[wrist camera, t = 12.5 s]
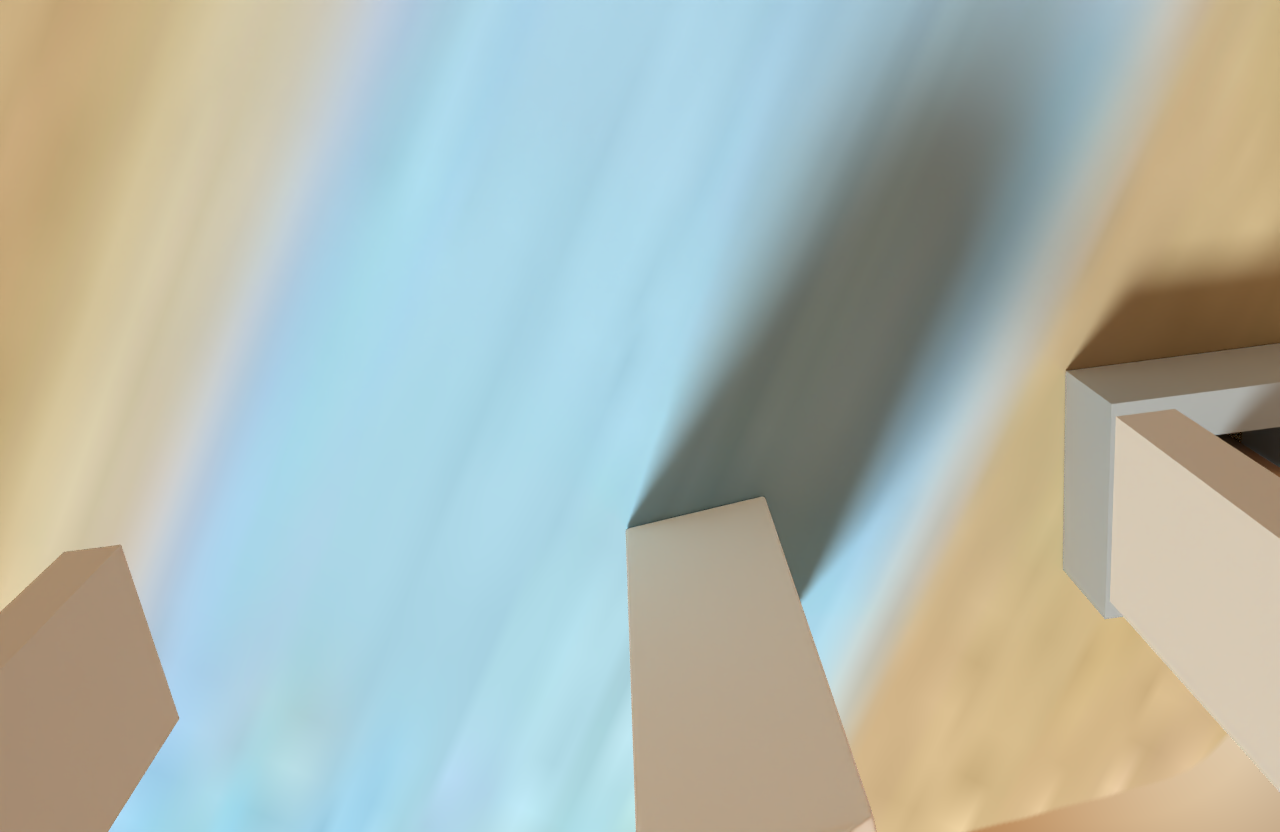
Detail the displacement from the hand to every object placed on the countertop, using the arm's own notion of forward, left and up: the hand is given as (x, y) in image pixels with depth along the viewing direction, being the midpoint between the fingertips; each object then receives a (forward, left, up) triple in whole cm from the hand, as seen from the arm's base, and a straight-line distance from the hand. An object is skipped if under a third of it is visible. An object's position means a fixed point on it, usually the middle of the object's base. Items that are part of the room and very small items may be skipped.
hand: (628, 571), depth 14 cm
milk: (+15, +2, -27) cm, 31 cm away
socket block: (+12, +22, -27) cm, 36 cm away
